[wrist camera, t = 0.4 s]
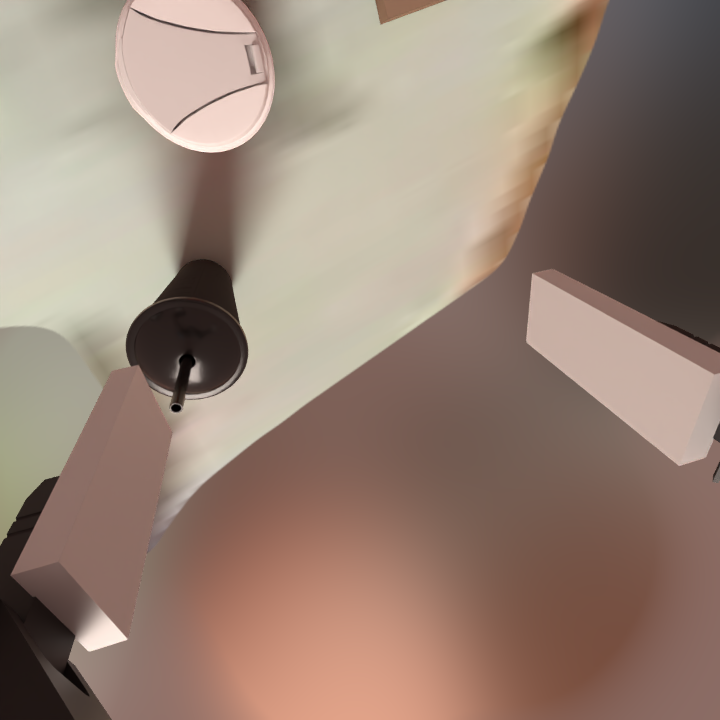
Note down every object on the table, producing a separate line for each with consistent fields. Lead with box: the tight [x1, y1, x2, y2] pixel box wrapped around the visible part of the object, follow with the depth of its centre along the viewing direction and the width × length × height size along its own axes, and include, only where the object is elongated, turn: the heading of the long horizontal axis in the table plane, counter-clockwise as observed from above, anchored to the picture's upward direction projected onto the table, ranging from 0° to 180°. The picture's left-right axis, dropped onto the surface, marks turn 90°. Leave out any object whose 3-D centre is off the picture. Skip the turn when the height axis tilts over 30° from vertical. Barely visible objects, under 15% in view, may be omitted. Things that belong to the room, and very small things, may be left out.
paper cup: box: [115, 0, 275, 153], centre depth 27 cm, size 8×8×14 cm
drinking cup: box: [126, 260, 248, 413], centre depth 31 cm, size 8×8×20 cm
